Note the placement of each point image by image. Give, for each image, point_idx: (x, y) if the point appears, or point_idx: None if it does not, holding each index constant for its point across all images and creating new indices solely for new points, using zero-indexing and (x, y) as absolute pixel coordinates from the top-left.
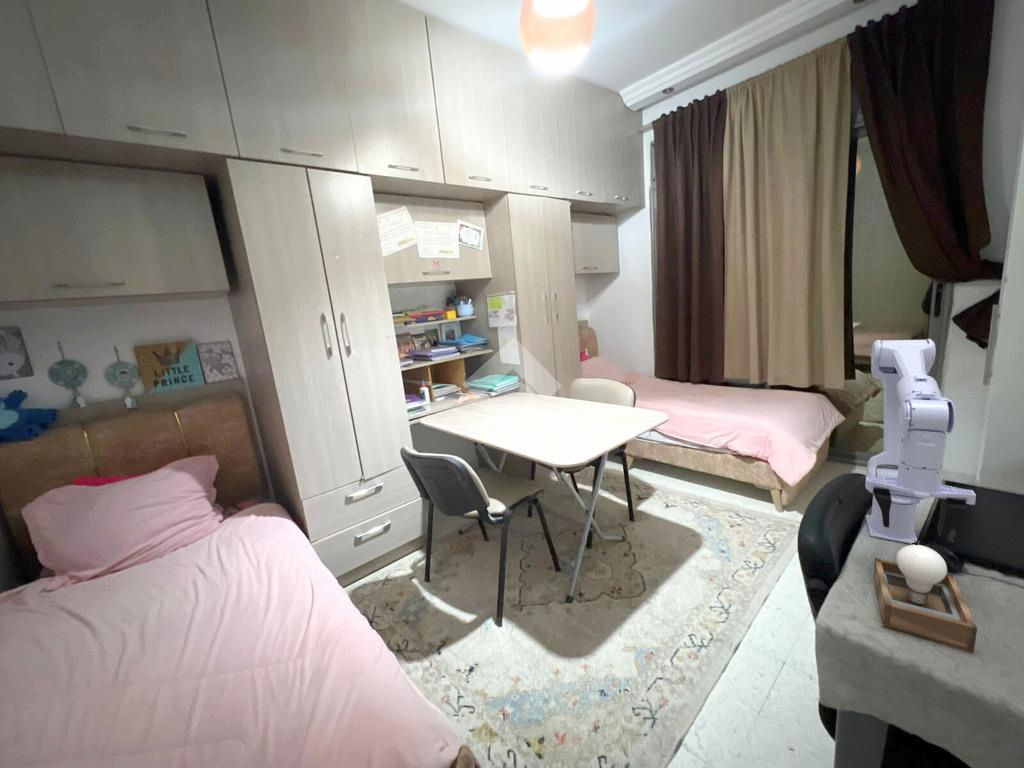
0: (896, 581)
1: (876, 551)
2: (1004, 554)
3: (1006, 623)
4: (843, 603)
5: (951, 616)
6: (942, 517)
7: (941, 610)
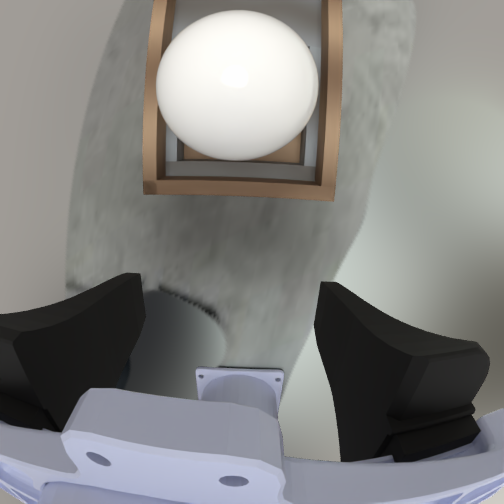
0: (276, 162)
1: (284, 316)
2: None
3: (91, 131)
4: (391, 60)
5: None
6: (103, 344)
7: None
